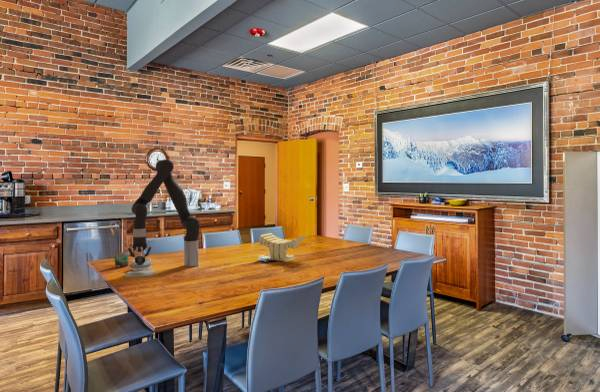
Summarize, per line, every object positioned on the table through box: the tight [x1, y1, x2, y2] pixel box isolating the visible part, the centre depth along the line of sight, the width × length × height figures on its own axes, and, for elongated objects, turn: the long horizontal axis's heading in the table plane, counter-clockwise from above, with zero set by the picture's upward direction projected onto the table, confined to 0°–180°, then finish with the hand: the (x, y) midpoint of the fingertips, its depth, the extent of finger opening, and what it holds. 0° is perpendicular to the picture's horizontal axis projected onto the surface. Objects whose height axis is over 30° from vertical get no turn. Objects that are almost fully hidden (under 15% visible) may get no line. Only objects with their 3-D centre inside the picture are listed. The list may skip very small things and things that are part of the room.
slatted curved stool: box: [258, 232, 306, 263], centre depth 269 cm, size 30×16×18 cm, turn 61°
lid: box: [128, 255, 152, 269], centre depth 228 cm, size 12×12×6 cm
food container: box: [113, 249, 131, 269], centre depth 248 cm, size 12×6×10 cm, turn 168°
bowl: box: [132, 257, 152, 271], centre depth 241 cm, size 11×11×6 cm
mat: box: [124, 269, 156, 278], centre depth 228 cm, size 16×12×1 cm
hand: (140, 263), depth 228 cm, fingers closed on lid, 3 cm apart
